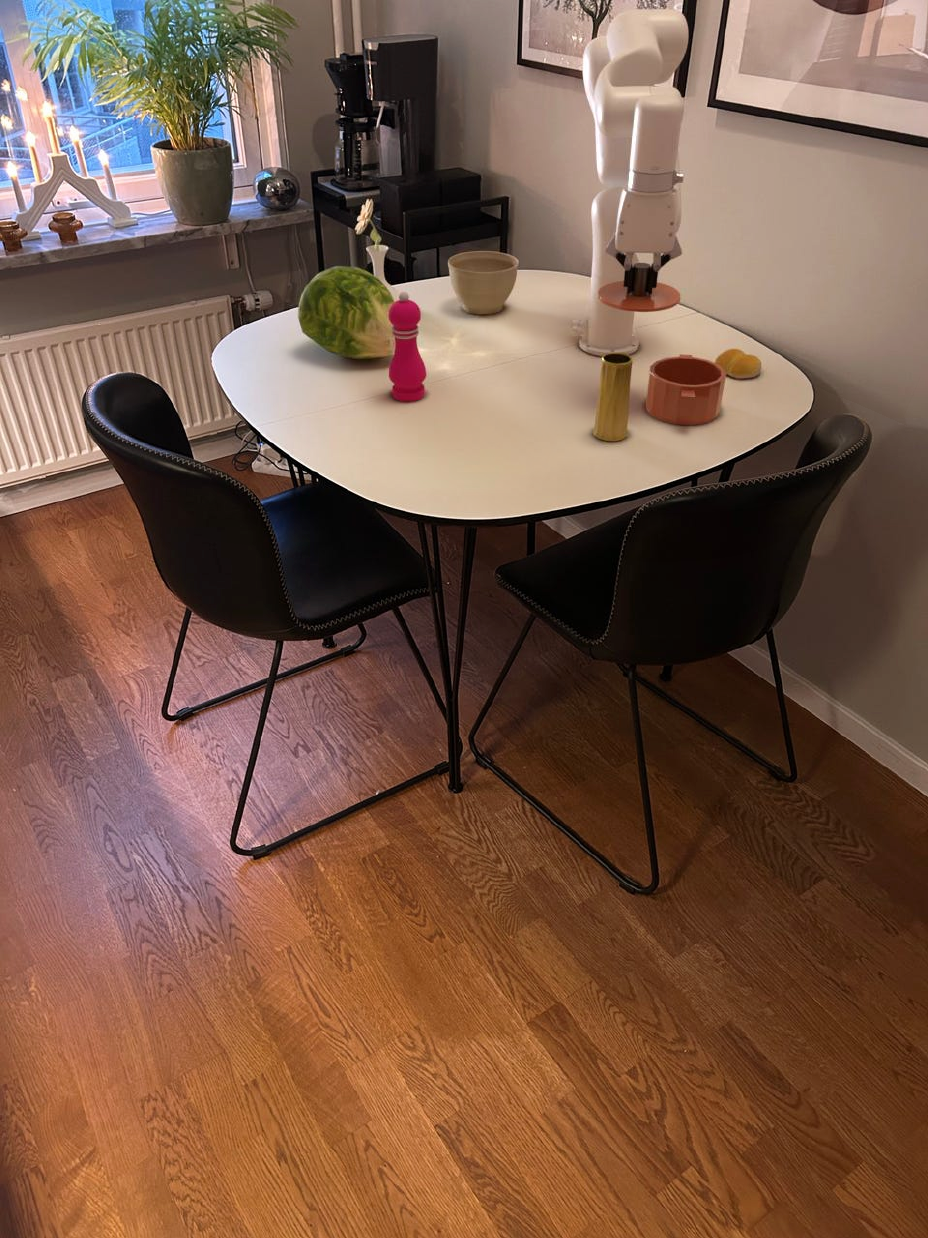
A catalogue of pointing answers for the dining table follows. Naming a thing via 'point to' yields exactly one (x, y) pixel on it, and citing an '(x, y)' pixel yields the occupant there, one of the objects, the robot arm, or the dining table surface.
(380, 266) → the flower in vase
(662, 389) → the crock
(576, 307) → the dining table surface
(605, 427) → the vase
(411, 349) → the pepper mill
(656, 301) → the crock lid
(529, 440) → the dining table surface
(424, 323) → the dining table surface
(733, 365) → the bread roll
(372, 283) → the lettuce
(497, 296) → the planter bowl
